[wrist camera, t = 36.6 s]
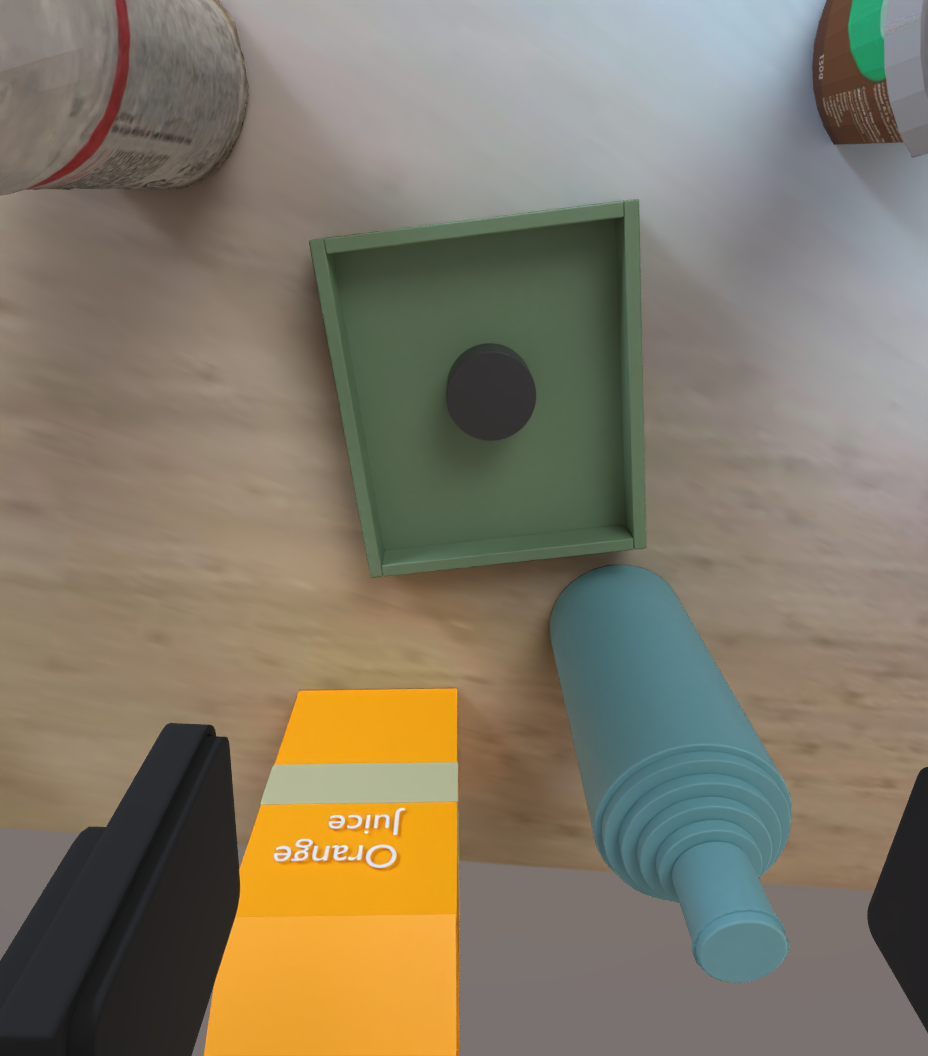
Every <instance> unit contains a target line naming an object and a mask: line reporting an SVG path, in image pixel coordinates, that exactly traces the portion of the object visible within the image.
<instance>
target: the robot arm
mask: <svg viewBox="0 0 928 1056" xmlns="http://www.w3.org/2000/svg"><path fill="white" fill-rule="evenodd" d="M239 897H240V874H239V862H238V850H237V836H236V823H235V811H234V798H233V785H232V772H231V760H230V747H229V741H228V738H227V737H216V732H215V729H214V727H213V726H212V725H201V724H178V723H169V724H167V725H166V726H165V727H164V728H163V730H162V731H161V733H160V735H159V737H158V738H157V740H156V742H155V744H154V745H153V747H152V749H151V750H150V752H149V754H148V756H147V757H146V759H145V761H144V763H143V764H142V766H141V768H140V770H139V771H138V773H137V775H136V776H135V778H134V780H133V782H132V783H131V785H130V787H129V789H128V790H127V792H126V794H125V795H124V797H123V799H122V801H121V802H120V804H119V806H118V808H117V809H116V811H115V813H114V815H113V816H112V818H111V820H110V821H109V823H108V825H107V827H88V828H86V829H85V830H84V831H82V832H81V833H80V834H79V836H78V837H77V839H76V840H75V841H74V842H73V844H72V845H71V847H70V849H69V850H68V852H67V854H66V855H65V857H64V858H63V860H62V862H61V863H60V865H59V866H58V868H57V870H56V872H55V873H54V875H53V876H52V878H51V879H50V881H49V883H48V884H47V886H46V888H45V889H44V891H43V893H42V894H41V896H40V897H39V899H38V901H37V902H36V904H35V906H34V907H33V909H32V910H31V912H30V914H29V915H28V917H27V918H26V920H25V922H24V923H23V925H22V927H21V928H20V930H19V932H18V933H17V935H16V936H15V938H14V940H13V941H12V943H11V945H10V946H9V948H8V949H7V951H6V953H5V954H4V956H3V957H2V959H1V961H0V1056H191V1055H192V1052H193V1049H194V1046H195V1043H196V1039H197V1036H198V1033H199V1030H200V1027H201V1024H202V1021H203V1017H204V1014H205V1011H206V1008H207V1005H208V1002H209V999H210V995H211V992H212V989H213V986H214V983H215V980H216V977H217V973H218V970H219V967H220V964H221V961H222V958H223V955H224V951H225V948H226V945H227V942H228V939H229V936H230V933H231V929H232V926H233V923H234V920H235V917H236V913H237V909H238V904H239ZM868 924H869V928H870V932H871V934H872V936H873V938H874V941H875V942H876V944H877V946H878V947H879V949H880V951H881V952H882V954H883V956H884V958H885V960H886V961H887V963H888V965H889V966H890V968H891V970H892V972H893V973H894V975H895V977H896V979H897V980H898V982H899V984H900V985H901V987H902V989H903V991H904V992H905V994H906V996H907V998H908V999H909V1001H910V1003H911V1005H912V1006H913V1008H914V1010H915V1012H916V1013H917V1015H918V1017H919V1018H920V1020H921V1022H922V1023H923V1025H924V1027H925V1029H926V1031H927V1032H928V767H925V768H923V769H922V770H921V771H920V772H919V774H918V776H917V779H916V782H915V784H914V787H913V789H912V792H911V795H910V797H909V800H908V803H907V805H906V808H905V811H904V813H903V816H902V819H901V821H900V824H899V827H898V829H897V832H896V835H895V837H894V840H893V843H892V845H891V848H890V851H889V853H888V856H887V859H886V861H885V864H884V867H883V869H882V872H881V875H880V877H879V880H878V883H877V885H876V888H875V891H874V893H873V896H872V899H871V902H870V904H869V907H868Z"/></svg>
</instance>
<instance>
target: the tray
mask: <svg viewBox="0 0 928 1056" xmlns="http://www.w3.org/2000/svg"><path fill="white" fill-rule="evenodd" d="M309 244H310V250H311V255H312V261H313V266H314V271H315V277H316V282H317V288H318V293H319V299H320V304H321V310H322V315H323V320H324V326H325V331H326V337H327V342H328V348H329V353H330V359H331V364H332V369H333V375H334V380H335V386H336V391H337V397H338V402H339V407H340V413H341V418H342V424H343V429H344V435H345V440H346V446H347V451H348V456H349V462H350V467H351V473H352V478H353V484H354V489H355V495H356V500H357V505H358V511H359V516H360V522H361V527H362V533H363V538H364V544H365V549H366V554H367V560H368V565H369V571H370V576H371V577H372V578H373V577H382V576H392V575H402V574H411V573H420V572H429V571H439V570H448V569H457V568H467V567H476V566H485V565H495V564H504V563H513V562H522V561H532V560H541V559H550V558H560V557H569V556H578V555H588V554H597V553H606V552H615V551H625V550H633V549H644V548H646V506H645V459H644V412H643V365H642V318H641V271H640V224H639V199H634V200H625V201H617V202H609V203H601V204H593V205H585V206H577V207H569V208H561V209H553V210H545V211H537V212H529V213H521V214H513V215H505V216H497V217H489V218H481V219H473V220H465V221H457V222H449V223H441V224H433V225H425V226H417V227H409V228H401V229H393V230H385V231H377V232H369V233H361V234H353V235H345V236H337V237H329V238H321V239H314V240H310V241H309ZM486 343H493V344H500V345H503V346H506V347H508V348H510V349H512V350H513V351H515V352H516V353H517V354H518V355H519V356H521V358H522V359H523V360H524V361H525V363H526V365H527V367H528V369H529V371H530V373H531V375H532V377H533V380H534V383H535V386H536V405H535V408H534V411H533V414H532V416H531V418H530V419H529V421H528V422H527V423H526V425H525V426H524V427H523V428H522V429H521V430H519V431H518V432H517V433H515V434H514V435H512V436H510V437H508V438H505V439H501V440H496V441H486V440H480V439H477V438H474V437H472V436H470V435H468V434H466V433H465V432H463V431H462V430H461V429H460V428H459V427H458V426H457V425H456V424H455V422H454V421H453V419H452V417H451V415H450V413H449V410H448V406H447V398H446V395H447V381H448V376H449V372H450V370H451V367H452V366H453V364H454V362H455V361H456V359H457V358H458V357H459V356H460V355H461V354H462V353H464V352H465V351H466V350H468V349H470V348H472V347H474V346H477V345H480V344H486Z"/></svg>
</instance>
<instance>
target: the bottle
mask: <svg viewBox="0 0 928 1056" xmlns="http://www.w3.org/2000/svg"><path fill="white" fill-rule="evenodd" d="M549 633H550V639H551V643H552V648H553V652H554V657H555V661H556V666H557V671H558V675H559V680H560V684H561V689H562V693H563V698H564V702H565V707H566V711H567V716H568V720H569V725H570V729H571V734H572V738H573V743H574V747H575V752H576V756H577V761H578V765H579V770H580V775H581V779H582V784H583V788H584V793H585V797H586V802H587V806H588V811H589V815H590V820H591V824H592V829H593V833H594V838H595V842H596V845H597V848H598V851H599V852H600V854H601V856H602V858H603V860H604V861H605V862H606V864H607V865H608V866H609V867H610V868H611V869H612V870H613V871H614V872H615V873H616V874H617V875H618V876H619V877H620V878H621V879H622V880H623V881H624V882H625V883H627V884H628V885H630V886H631V887H632V888H634V889H636V890H638V891H640V892H641V893H644V894H646V895H649V896H652V897H655V898H659V899H663V900H669V901H674V902H678V903H680V905H681V908H682V911H683V915H684V918H685V920H686V924H687V927H688V930H689V933H690V936H691V939H692V952H693V955H694V957H695V960H696V963H697V964H698V965H699V966H700V967H701V968H702V969H703V970H704V971H705V972H706V973H707V974H709V975H710V976H711V977H713V978H715V979H718V980H721V981H725V982H733V983H741V982H748V981H753V980H756V979H759V978H761V977H764V976H766V975H768V974H769V973H771V972H772V971H774V970H775V969H776V968H777V967H778V966H779V965H780V964H781V962H782V961H783V959H785V958H786V955H787V953H788V951H789V940H788V939H786V938H785V930H784V926H783V924H782V922H781V921H780V919H779V918H778V917H777V916H776V915H775V914H774V912H773V909H772V907H771V905H770V903H769V900H768V898H767V896H766V894H765V892H764V890H763V887H762V885H761V883H760V881H759V879H760V877H761V876H763V874H764V873H765V872H766V871H767V870H768V869H769V868H770V867H771V866H772V865H773V864H774V863H775V862H776V860H777V859H778V857H779V856H780V854H781V853H782V851H783V849H784V847H785V845H786V843H787V840H788V837H789V832H790V821H791V815H792V804H791V798H790V793H789V791H788V788H787V785H786V783H785V782H784V780H783V778H782V776H781V775H780V773H779V771H778V770H777V768H776V766H775V764H774V763H773V761H772V759H771V758H770V756H769V754H768V752H767V751H766V749H765V747H764V745H763V744H762V742H761V740H760V739H759V737H758V735H757V733H756V732H755V730H754V728H753V727H752V725H751V723H750V721H749V720H748V718H747V716H746V714H745V713H744V711H743V709H742V708H741V706H740V704H739V702H738V701H737V699H736V697H735V696H734V694H733V692H732V690H731V689H730V687H729V685H728V683H727V682H726V680H725V678H724V677H723V675H722V673H721V671H720V670H719V668H718V666H717V665H716V663H715V661H714V659H713V658H712V656H711V654H710V652H709V651H708V649H707V647H706V646H705V644H704V642H703V640H702V639H701V637H700V635H699V634H698V632H697V630H696V628H695V627H694V625H693V623H692V621H691V620H690V618H689V616H688V615H687V613H686V611H685V609H684V608H683V606H682V604H681V603H680V601H679V599H678V597H677V596H676V594H675V592H674V591H673V589H672V588H671V587H670V585H669V584H668V583H667V582H666V581H665V580H663V579H662V578H661V577H660V576H658V575H657V574H655V573H653V572H651V571H649V570H646V569H643V568H640V567H636V566H631V565H611V566H605V567H601V568H598V569H594V570H592V571H590V572H587V573H585V574H584V575H582V576H580V577H578V578H577V579H576V580H574V581H573V582H572V583H571V584H570V585H569V586H567V587H566V588H565V590H564V591H563V592H562V593H561V594H560V596H559V598H558V599H557V601H556V603H555V605H554V607H553V609H552V613H551V616H550V622H549Z"/></svg>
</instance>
